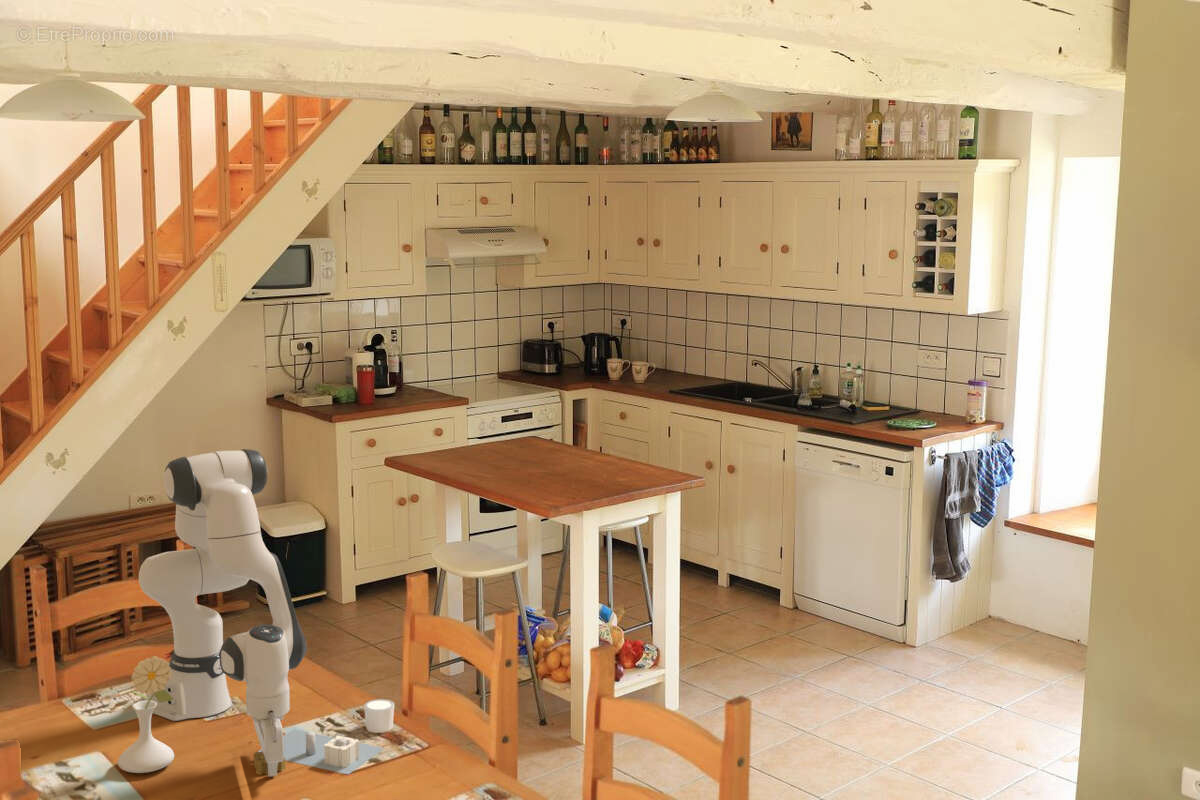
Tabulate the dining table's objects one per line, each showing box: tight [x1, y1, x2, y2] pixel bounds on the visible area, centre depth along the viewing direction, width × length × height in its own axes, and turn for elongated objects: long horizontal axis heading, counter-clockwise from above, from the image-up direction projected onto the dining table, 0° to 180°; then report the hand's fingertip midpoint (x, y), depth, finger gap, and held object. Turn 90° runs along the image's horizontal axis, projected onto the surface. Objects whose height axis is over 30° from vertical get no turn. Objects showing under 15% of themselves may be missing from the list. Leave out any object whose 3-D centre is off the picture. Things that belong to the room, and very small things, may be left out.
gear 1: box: [253, 751, 286, 775], centre depth 253 cm, size 7×7×4 cm
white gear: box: [324, 735, 360, 768], centre depth 256 cm, size 7×7×4 cm
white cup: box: [363, 698, 396, 734], centre depth 273 cm, size 7×7×7 cm
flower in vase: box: [117, 655, 175, 774], centre depth 253 cm, size 13×11×25 cm
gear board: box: [257, 728, 385, 775], centre depth 261 cm, size 24×14×6 cm, turn 68°
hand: (269, 765), depth 252 cm, fingers open, 8 cm apart
